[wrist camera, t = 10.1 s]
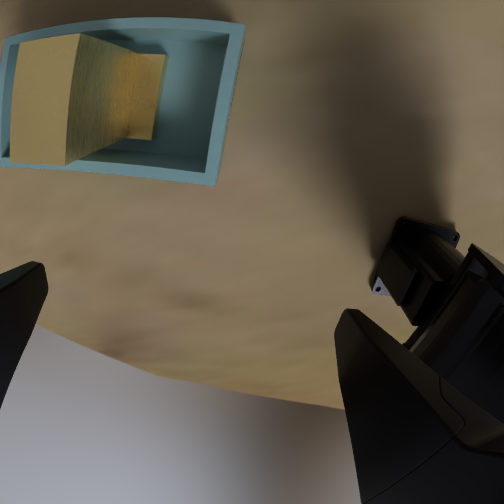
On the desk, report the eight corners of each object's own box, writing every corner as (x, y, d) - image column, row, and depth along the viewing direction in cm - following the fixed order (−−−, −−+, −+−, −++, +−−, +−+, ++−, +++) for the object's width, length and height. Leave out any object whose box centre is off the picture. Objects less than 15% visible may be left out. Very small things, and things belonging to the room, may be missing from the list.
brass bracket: (169, 56, 14) (117, 30, 7) (155, 137, 17) (99, 168, 10) (79, 57, 14) (-4, 49, 7) (70, 132, 16) (-12, 162, 9)
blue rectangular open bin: (244, 39, 15) (245, 24, 11) (220, 168, 18) (215, 186, 15) (39, 41, 13) (5, 37, 9) (29, 152, 17) (-5, 166, 13)
